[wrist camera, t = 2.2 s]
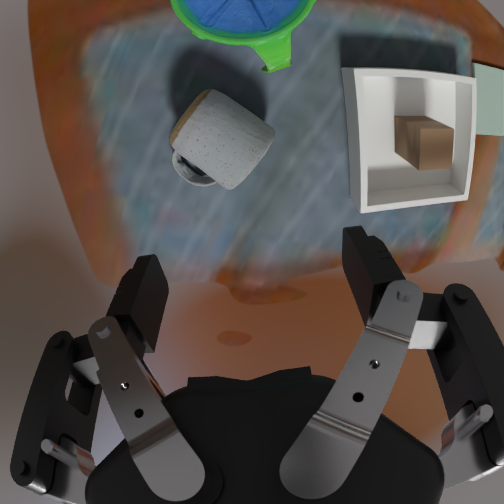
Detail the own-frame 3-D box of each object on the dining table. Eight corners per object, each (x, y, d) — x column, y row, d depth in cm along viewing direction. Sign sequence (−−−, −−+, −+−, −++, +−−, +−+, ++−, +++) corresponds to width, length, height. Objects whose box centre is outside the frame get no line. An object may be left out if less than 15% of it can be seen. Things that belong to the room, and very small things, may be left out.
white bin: (341, 67, 26) (353, 68, 23) (456, 74, 25) (476, 78, 21) (350, 197, 35) (360, 213, 32) (451, 186, 34) (467, 199, 31)
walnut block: (394, 115, 28) (420, 128, 23) (425, 115, 28) (454, 128, 23) (394, 152, 31) (418, 170, 26) (424, 150, 31) (451, 168, 26)
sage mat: (471, 62, 23) (474, 62, 23) (515, 73, 22) (517, 74, 22) (472, 132, 29) (474, 134, 29) (513, 135, 28) (515, 136, 28)
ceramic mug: (211, 80, 27) (200, 86, 21) (274, 123, 30) (281, 142, 24) (159, 157, 32) (138, 184, 26) (217, 193, 35) (210, 228, 29)
